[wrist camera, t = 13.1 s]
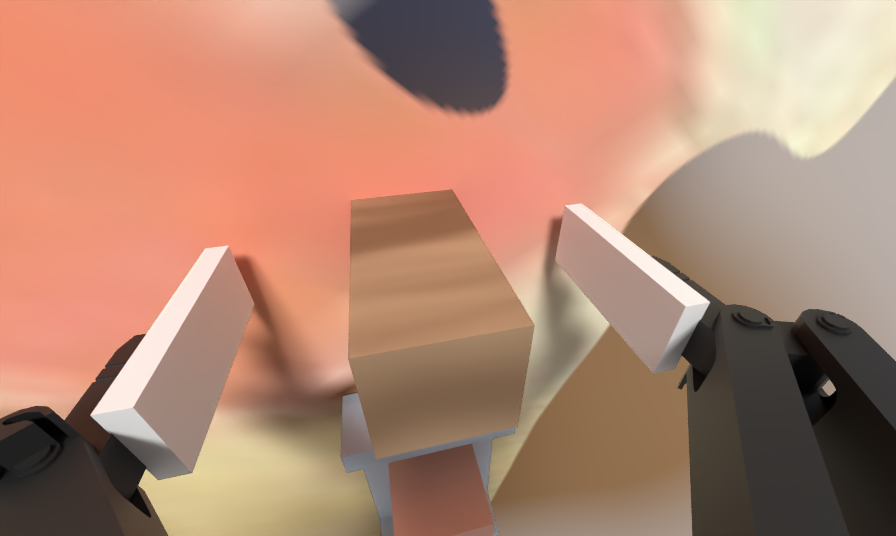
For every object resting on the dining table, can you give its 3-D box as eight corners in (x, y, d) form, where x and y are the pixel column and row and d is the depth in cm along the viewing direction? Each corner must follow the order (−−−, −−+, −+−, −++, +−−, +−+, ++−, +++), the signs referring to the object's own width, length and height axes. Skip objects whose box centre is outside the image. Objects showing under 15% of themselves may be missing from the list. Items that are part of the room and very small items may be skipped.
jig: (342, 395, 20) (340, 457, 17) (495, 365, 21) (516, 417, 18) (394, 558, 35) (398, 605, 32) (480, 534, 36) (491, 576, 34)
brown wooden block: (351, 200, 13) (348, 358, 7) (452, 189, 14) (534, 325, 8) (367, 282, 16) (376, 459, 9) (453, 270, 16) (517, 426, 10)
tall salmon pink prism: (386, 434, 21) (395, 551, 17) (464, 416, 22) (494, 523, 17) (404, 503, 27) (415, 605, 22) (465, 487, 28) (489, 582, 23)
